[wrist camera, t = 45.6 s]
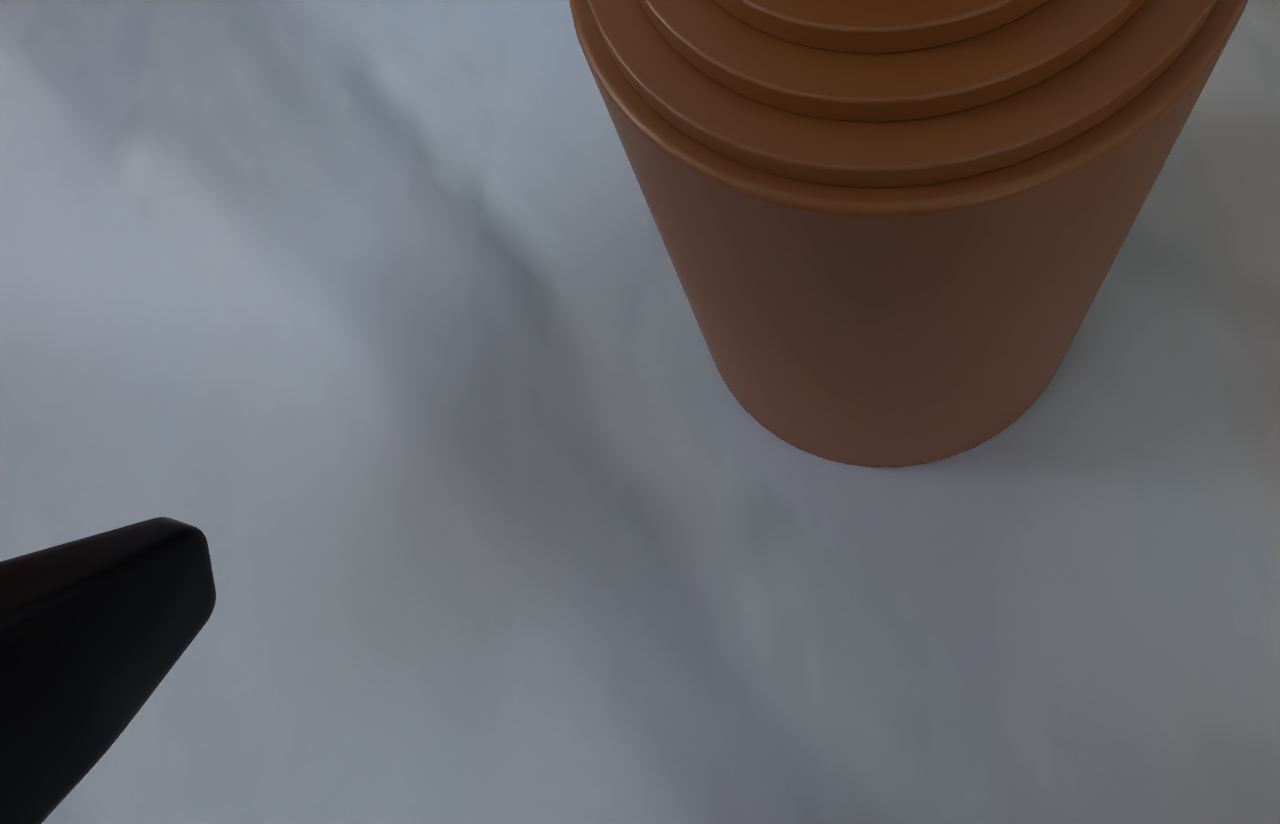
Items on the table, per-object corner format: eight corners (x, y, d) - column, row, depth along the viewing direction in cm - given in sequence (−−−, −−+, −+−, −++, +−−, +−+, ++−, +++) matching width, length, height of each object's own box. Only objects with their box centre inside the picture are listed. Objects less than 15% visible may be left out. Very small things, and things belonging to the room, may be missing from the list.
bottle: (1123, 427, 15) (1779, -358, 4) (736, 501, 16) (452, 17, 5) (1018, 98, 17) (1282, -1023, 6) (678, 182, 18) (382, -665, 7)
